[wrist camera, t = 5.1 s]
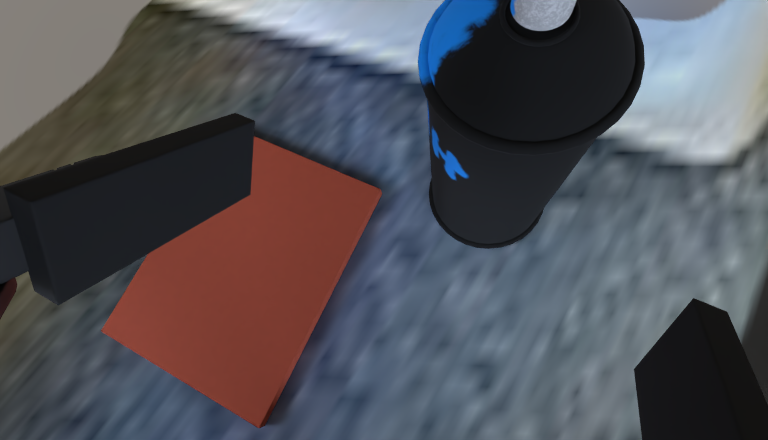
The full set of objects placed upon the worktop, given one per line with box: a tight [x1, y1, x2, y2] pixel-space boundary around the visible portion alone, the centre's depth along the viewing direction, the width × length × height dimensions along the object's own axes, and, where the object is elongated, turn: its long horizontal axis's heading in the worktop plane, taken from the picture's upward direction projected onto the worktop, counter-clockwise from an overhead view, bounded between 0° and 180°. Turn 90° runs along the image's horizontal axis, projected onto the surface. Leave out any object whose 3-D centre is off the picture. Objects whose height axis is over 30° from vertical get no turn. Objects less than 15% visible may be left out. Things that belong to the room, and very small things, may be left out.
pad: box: [101, 136, 382, 428], centre depth 31 cm, size 14×18×1 cm
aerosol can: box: [418, 0, 645, 249], centre depth 21 cm, size 8×8×20 cm
